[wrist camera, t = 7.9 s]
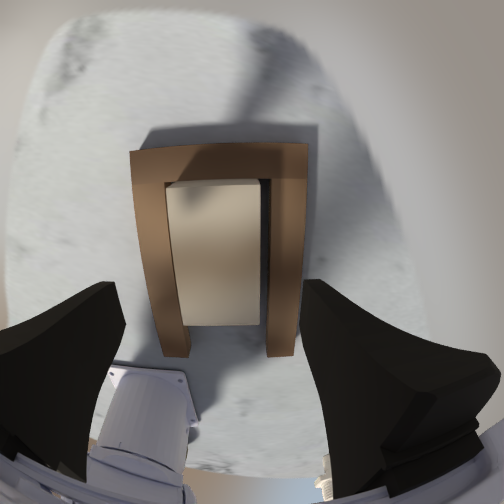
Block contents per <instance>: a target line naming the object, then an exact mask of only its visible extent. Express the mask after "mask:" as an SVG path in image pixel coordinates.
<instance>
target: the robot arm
mask: <svg viewBox="0 0 504 504" xmlns="http://www.w3.org/2000/svg"><path fill="white" fill-rule="evenodd" d="M125 326H126V322H125V319H124V315H123V312H122V308H121V305H120V301H119V298H118V294H117V290H116V286H115V282H105V281H102V282H99V283H96V284H94V285H92V286H90V287H88V288H86V289H84V290H82V291H81V292H79V293H77V294H75V295H74V296H72V297H70V298H68V299H67V300H65V301H63V302H62V303H60V304H58V305H56V306H54V307H52V308H51V309H49V310H47V311H45V312H43V313H41V314H39V315H38V316H35V317H33V318H31V319H29V320H27V321H25V322H22V323H20V324H18V325H15V326H12V327H9V328H6V329H4V330H1V331H0V504H197V501H196V496H195V494H194V492H193V491H192V490H191V488H190V486H188V485H187V484H182V482H183V475H182V473H183V471H184V468H185V461H186V452H187V444H188V436H189V428H190V427H198V426H199V422H198V418H197V415H196V412H195V408H194V405H193V401H192V398H191V394H190V390H189V387H188V383H187V379H186V375H185V373H183V372H181V371H170V370H157V369H145V368H135V367H127V366H118V365H111V364H112V362H113V359H114V357H115V355H116V353H117V351H118V348H119V346H120V343H121V340H122V337H123V334H124V330H125ZM299 327H300V332H301V338H302V343H303V348H304V351H305V354H306V357H307V360H308V363H309V366H310V369H311V372H312V375H313V378H314V381H315V384H316V387H317V390H318V393H319V397H320V401H321V405H322V411H323V416H324V421H325V427H326V434H327V440H328V447H329V455H330V464H331V474H332V487H333V500H330V501H325V502H319V503H313V504H500V503H501V502H502V501H503V500H504V419H502V420H501V421H499V422H498V423H496V424H495V425H494V426H492V427H490V428H489V429H488V430H486V431H485V432H484V433H482V434H481V435H480V436H479V437H478V435H477V433H476V431H475V430H476V429H477V428H478V427H479V422H478V421H477V419H476V416H477V414H478V413H479V412H480V411H481V409H482V408H483V407H484V406H485V404H486V403H487V402H488V401H489V399H490V398H491V396H492V395H493V393H494V392H495V390H496V389H497V387H498V385H499V382H500V377H501V372H500V371H499V369H498V368H497V367H496V365H495V364H494V363H493V362H492V360H491V359H490V358H489V357H488V355H486V354H484V353H478V352H471V351H466V350H460V349H456V348H452V347H448V346H444V345H440V344H437V343H434V342H431V341H428V340H425V339H422V338H420V337H417V336H414V335H412V334H409V333H407V332H405V331H402V330H400V329H398V328H396V327H394V326H392V325H390V324H388V323H386V322H384V321H382V320H380V319H379V318H377V317H375V316H374V315H372V314H370V313H369V312H367V311H365V310H364V309H362V308H361V307H359V306H358V305H356V304H355V303H353V302H352V301H350V300H349V299H348V298H346V297H345V296H343V295H342V294H341V293H339V292H338V291H337V290H335V289H334V288H332V287H331V286H330V285H328V284H327V283H325V282H324V281H322V280H321V279H307V280H304V281H303V292H302V302H301V312H300V321H299ZM107 373H108V375H109V377H110V379H111V381H112V383H113V385H114V387H115V389H116V391H115V394H114V396H113V399H112V401H111V404H110V407H109V409H108V412H107V415H106V418H105V420H104V423H103V426H102V429H101V432H100V435H99V437H98V440H97V443H96V445H92V447H91V451H90V453H89V452H87V451H88V442H89V434H90V429H91V423H92V418H93V414H94V410H95V406H96V402H97V398H98V395H99V392H100V389H101V387H102V384H103V382H104V380H105V377H106V375H107ZM51 491H53V492H55V493H57V494H59V495H61V499H60V498H58V497H56V496H54V495H53V494H52V492H51Z"/></svg>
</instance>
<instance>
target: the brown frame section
mask: <svg viewBox="0 0 504 504" xmlns="http://www.w3.org/2000/svg"><path fill="white" fill-rule="evenodd" d="M130 167H131V180H132V191H133V200H134V209H135V217H136V225H137V232H138V239H139V245H140V252H141V258H142V263H143V269H144V274H145V279H146V285H147V289H148V294H149V299H150V303H151V308H152V312H153V317H154V321H155V325H156V329H157V333H158V337H159V340H160V344H161V348H162V352H163V355H164V357H180V358H189V354H190V349H191V341H190V336H189V330H188V326H185V325H183V320H182V314H181V308H180V302H179V296H178V290H177V283H176V276H175V269H174V262H173V254H172V246H171V237H170V228H169V219H168V208H167V196H166V188H167V187H169V186H170V185H171V182H176V181H193V180H215V179H269V228H268V283H267V322H266V351H267V357H285V356H293V355H294V347H295V338H296V329H297V320H298V310H299V300H300V289H301V277H302V265H303V251H304V236H305V219H306V199H307V171H308V144H301V143H215V144H196V145H183V146H171V147H161V148H151V149H143V150H135V151H130Z"/></svg>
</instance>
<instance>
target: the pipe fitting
mask: <svg viewBox="0 0 504 504" xmlns="http://www.w3.org/2000/svg"><path fill="white" fill-rule="evenodd" d="M323 466H324V471H325V473H326V474H324V475H321V476H319V477H318V478H317V480H316V481H315V482H314V484H315V488H322V493H323V497H324V502H325V501H330V500H333V487H332V474H331V464H330V455H329V454H328V455H326V456H324V457H323Z"/></svg>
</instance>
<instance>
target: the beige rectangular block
mask: <svg viewBox="0 0 504 504" xmlns="http://www.w3.org/2000/svg"><path fill="white" fill-rule="evenodd" d="M166 196H167V208H168V219H169V228H170V237H171V246H172V254H173V262H174V269H175V276H176V283H177V290H178V296H179V302H180V308H181V314H182V320H183V325H185V326H236V325H260V183H259V181H258V179H215V180H193V181H176V182H175V183H173V184H172V185H170V186H169V187H167V188H166Z"/></svg>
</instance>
